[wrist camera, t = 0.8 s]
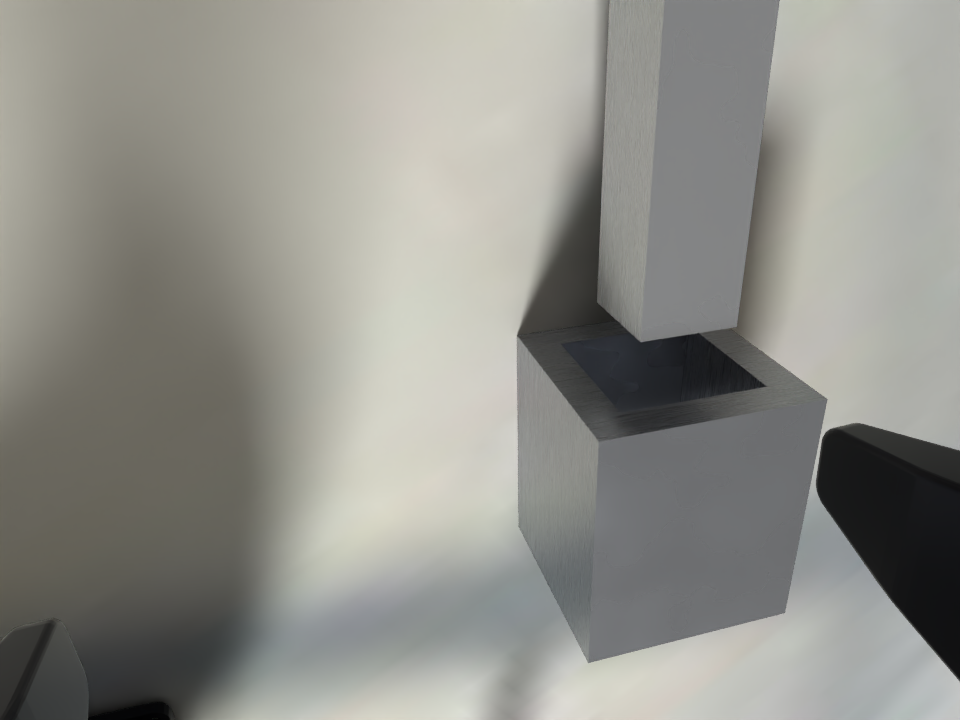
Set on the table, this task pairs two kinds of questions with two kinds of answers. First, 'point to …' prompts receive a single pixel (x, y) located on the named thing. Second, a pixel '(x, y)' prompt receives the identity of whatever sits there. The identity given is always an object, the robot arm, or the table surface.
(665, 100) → the grey l-shaped piece
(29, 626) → the robot arm
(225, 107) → the table surface
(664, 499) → the socket
